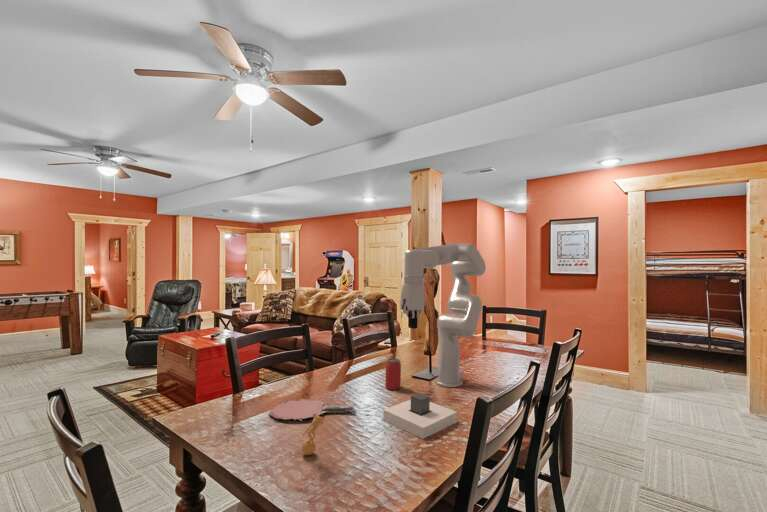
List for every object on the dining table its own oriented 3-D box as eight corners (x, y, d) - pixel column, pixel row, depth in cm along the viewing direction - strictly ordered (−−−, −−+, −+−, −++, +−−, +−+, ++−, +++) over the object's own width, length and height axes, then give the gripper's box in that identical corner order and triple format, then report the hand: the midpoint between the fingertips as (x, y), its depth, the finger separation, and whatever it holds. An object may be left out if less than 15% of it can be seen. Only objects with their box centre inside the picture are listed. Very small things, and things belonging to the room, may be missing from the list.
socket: (417, 406, 139) (417, 396, 139) (456, 422, 126) (457, 412, 126) (383, 419, 126) (383, 409, 126) (423, 439, 113) (423, 427, 113)
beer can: (399, 391, 154) (399, 362, 154) (383, 389, 155) (384, 361, 155) (401, 385, 160) (402, 358, 161) (386, 384, 162) (387, 357, 162)
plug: (419, 415, 129) (419, 392, 129) (429, 419, 126) (429, 396, 126) (410, 419, 126) (410, 396, 126) (420, 423, 123) (421, 400, 123)
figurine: (312, 445, 108) (313, 405, 108) (328, 451, 105) (329, 409, 105) (293, 459, 100) (294, 415, 100) (310, 465, 97) (311, 420, 98)
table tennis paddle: (287, 401, 142) (287, 393, 142) (357, 410, 134) (357, 402, 134) (261, 419, 125) (261, 411, 125) (339, 432, 117) (339, 423, 117)
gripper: (418, 280, 151) (418, 324, 150) (393, 281, 140) (392, 328, 140) (433, 281, 145) (432, 327, 145) (408, 282, 135) (407, 331, 135)
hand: (412, 327), depth 142 cm, fingers closed
